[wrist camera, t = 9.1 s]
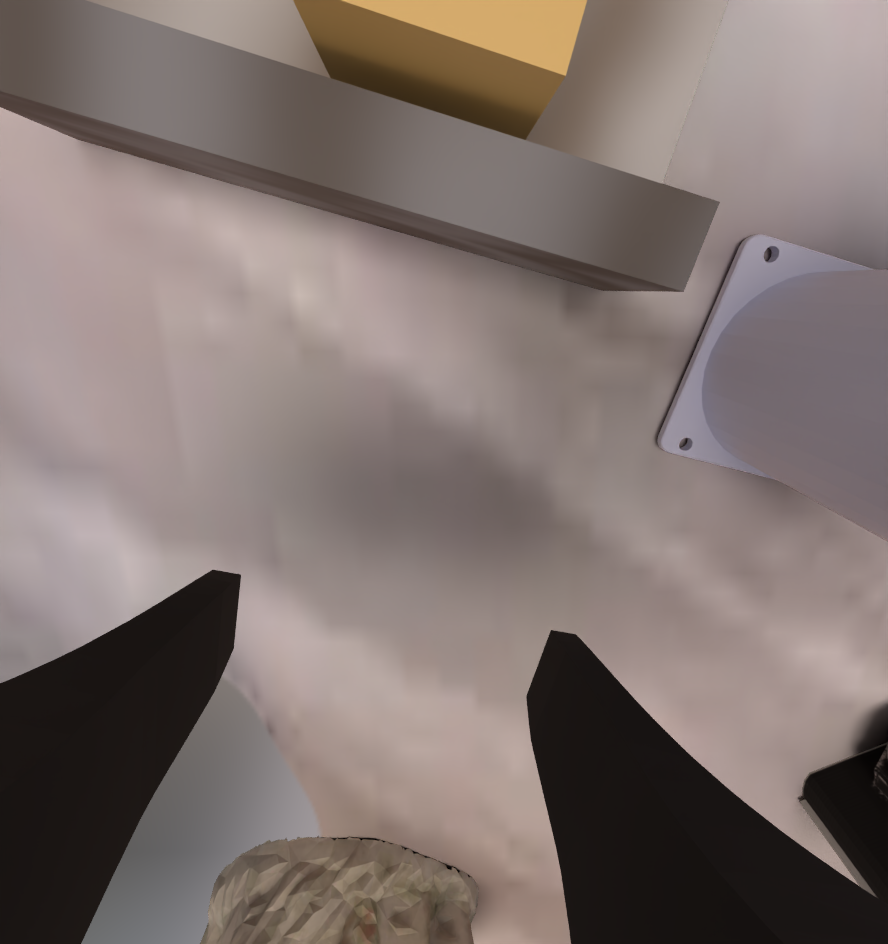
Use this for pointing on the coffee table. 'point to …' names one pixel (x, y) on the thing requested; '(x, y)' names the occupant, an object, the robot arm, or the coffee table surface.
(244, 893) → the rough stone chunk
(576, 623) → the coffee table surface
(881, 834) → the camera
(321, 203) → the board
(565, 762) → the robot arm
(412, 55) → the cabinet block
